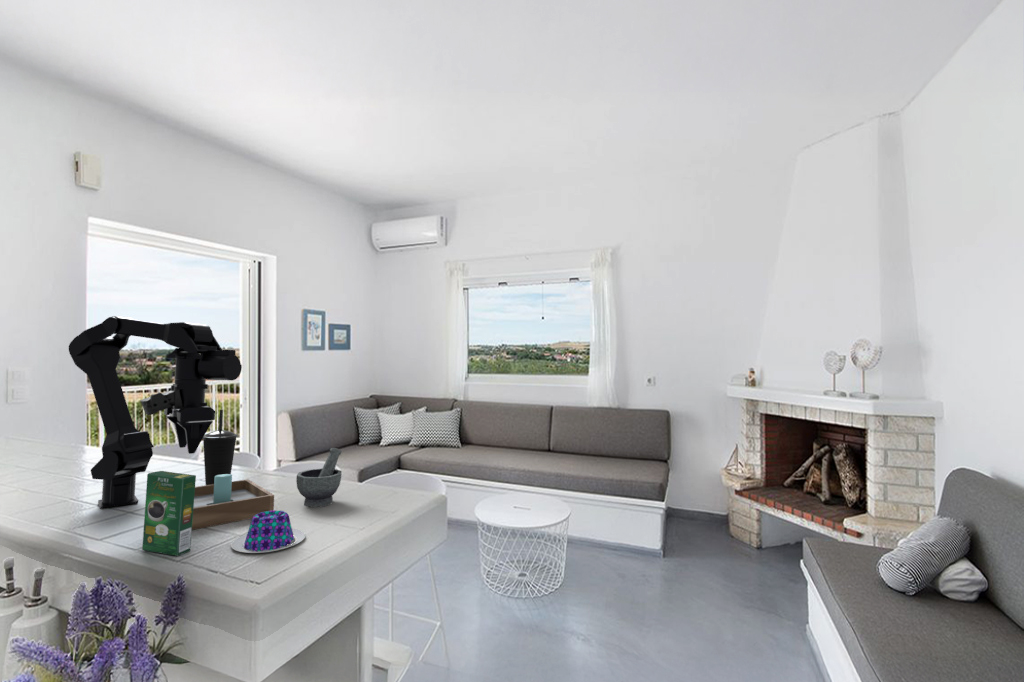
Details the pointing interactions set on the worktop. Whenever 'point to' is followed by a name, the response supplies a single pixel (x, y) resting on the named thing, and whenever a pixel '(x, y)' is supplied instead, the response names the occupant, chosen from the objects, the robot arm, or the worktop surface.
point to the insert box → (230, 504)
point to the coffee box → (168, 512)
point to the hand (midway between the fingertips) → (186, 450)
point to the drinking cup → (218, 452)
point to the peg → (222, 488)
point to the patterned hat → (268, 533)
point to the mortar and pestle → (320, 482)
